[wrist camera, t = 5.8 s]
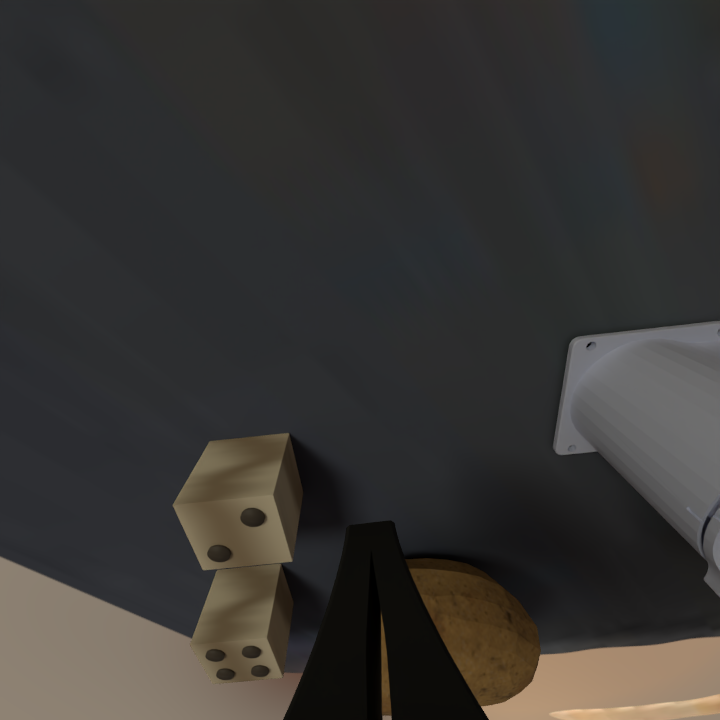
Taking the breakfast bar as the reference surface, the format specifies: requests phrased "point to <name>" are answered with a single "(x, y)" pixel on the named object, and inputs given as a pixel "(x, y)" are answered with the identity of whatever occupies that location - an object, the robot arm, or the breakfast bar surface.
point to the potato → (475, 629)
